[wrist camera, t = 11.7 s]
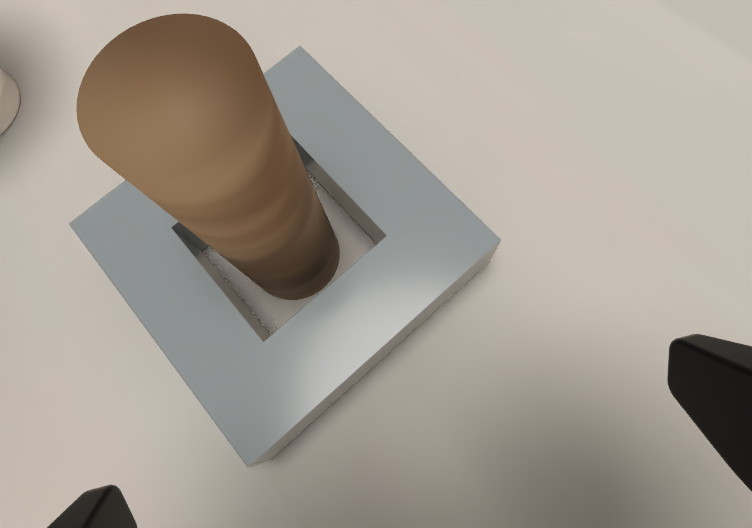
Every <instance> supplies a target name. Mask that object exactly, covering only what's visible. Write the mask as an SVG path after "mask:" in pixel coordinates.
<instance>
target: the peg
mask: <svg viewBox="0 0 752 528" xmlns="http://www.w3.org/2000/svg"><path fill="white" fill-rule="evenodd" d="M77 120H78V124H79V128H80V131H81V134H82V136H83V138H84V140H85V142H86V143H87V145H88V147H89V148H90V149H91V150H92V152H93V153H94V154H95V155H96V156H97V157H98V158H100V159H101V160H102V161H103V162H104V163H106V164H107V165H108V166H109V167H111V168H112V169H113V170H114V171H116V172H117V173H118V174H119V175H121V176H122V177H123V178H124V179H126V180H127V181H128V182H129V183H131V184H132V185H133V186H135V187H136V188H137V189H138V190H140V191H141V192H142V193H143V194H145V195H146V196H147V197H148V198H150V199H151V200H152V201H153V202H155V203H156V204H157V205H158V206H160V207H161V208H162V209H163V210H165V211H166V212H167V213H168V214H170V215H171V216H172V217H173V218H175V219H176V220H177V221H179V222H180V223H181V224H182V225H184V226H185V227H186V228H187V229H189V230H190V231H191V232H192V233H194V234H195V235H196V236H197V237H199V238H200V239H201V240H202V241H204V242H205V243H206V244H207V245H209V246H210V247H211V248H212V249H214V250H215V251H216V252H217V253H219V254H220V255H221V256H222V257H224V258H225V259H226V260H228V261H229V262H230V263H231V264H233V265H234V266H235V267H236V268H238V269H239V270H240V271H241V272H243V273H244V274H245V275H246V276H248V277H249V278H250V279H251V280H253V281H254V282H255V283H256V284H258V285H259V286H260V287H261V288H263V289H264V290H265V291H266V292H268V293H270V294H271V295H273V296H276V297H279V298H282V299H291V300H295V299H302V298H306V297H308V296H311V295H313V294H315V293H317V292H318V291H320V290H321V289H322V288H323V287H325V286H326V285H327V284H328V282H329V281H330V280H331V278H332V277H333V275H334V273H335V271H336V269H337V266H338V262H339V245H338V241H337V238H336V236H335V234H334V231H333V229H332V227H331V225H330V222H329V220H328V218H327V216H326V213H325V211H324V209H323V207H322V204H321V202H320V200H319V198H318V196H317V193H316V191H315V189H314V187H313V184H312V182H311V180H310V178H309V175H308V173H307V171H306V169H305V166H304V164H303V162H302V160H301V157H300V155H299V153H298V151H297V149H296V146H295V144H294V142H293V140H292V137H291V135H290V133H289V131H288V128H287V126H286V124H285V122H284V119H283V117H282V115H281V113H280V110H279V108H278V106H277V104H276V102H275V99H274V97H273V95H272V93H271V90H270V88H269V86H268V84H267V81H266V79H265V77H264V75H263V72H262V70H261V68H260V66H259V63H258V61H257V59H256V57H255V54H254V53H253V51H252V49H251V47H250V46H249V44H248V43H247V42H246V40H245V39H244V38H243V37H242V36H241V35H240V34H239V33H238V32H237V31H236V30H234V29H233V28H231V27H230V26H228V25H227V24H225V23H223V22H220V21H218V20H216V19H213V18H210V17H206V16H201V15H196V14H172V15H165V16H160V17H156V18H152V19H149V20H146V21H144V22H141V23H139V24H137V25H135V26H133V27H131V28H129V29H127V30H126V31H124V32H122V33H121V34H119V35H118V36H117V37H115V38H114V39H113V40H112V41H110V42H109V43H108V44H107V45H106V46H105V47H104V48H103V49H102V50H101V51H100V52H99V54H98V55H97V56H96V57H95V58H94V60H93V61H92V63H91V64H90V66H89V67H88V69H87V71H86V73H85V75H84V77H83V80H82V83H81V86H80V88H79V93H78V98H77Z"/></svg>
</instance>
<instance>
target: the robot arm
mask: <svg viewBox="0 0 752 528" xmlns="http://www.w3.org/2000/svg"><path fill="white" fill-rule="evenodd" d="M668 386H669V389H670V391H671V393H672V395H673V396H674V398H675V399H676V400H677V401H678V403H679V404H680V405H681V406H682V408H683V409H684V410H685V411H686V413H687V414H688V415H689V416H690V418H691V419H692V420H693V422H694V423H695V424H696V425H697V427H698V428H699V429H700V430H701V432H702V433H703V434H704V435H705V437H706V438H707V439H708V440H709V442H710V443H711V444H712V446H713V447H714V448H715V449H716V451H717V452H718V453H719V454H720V456H721V457H722V458H723V459H724V461H725V462H726V463H727V464H728V465H729V467H730V468H731V469H732V470H733V471H734V473H735V474H736V475H737V476H738V477H739V478H740V479H741V480H742V482H743V483H744V484H745V485H746V486H747V487H748V488H749V489H750V490H751V491H752V346H748V345H743V344H739V343H735V342H731V341H726V340H722V339H718V338H714V337H709V336H705V335H701V334H693V335H689V336H685V337H681V338H677V339H675V340H673V341H672V342H671V344H670V347H669V361H668ZM47 528H137V524H136V522H135V519H134V517H133V515H132V513H131V511H130V509H129V507H128V505H127V503H126V501H125V499H124V497H123V495H122V492H121V491H120V489H119V488H118V487H117V486H115V485H107V486H104V487H100V488H96V489H92V490H89V491H86V492H84V493H83V494H82V495H81V496H80V497H79V498H78V499H77V500H76V501H74V502H73V503H72V504H71V505H70V506H69V507H68V508H67V509H66V510H65V511H64V512H63V513H62V514H61V515H60V516H59V517H58V518H57V519H56V520H55V521H54V522H52V523H51V524H50V525H49V526H48V527H47Z"/></svg>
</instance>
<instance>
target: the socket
mask: <svg viewBox="0 0 752 528" xmlns="http://www.w3.org/2000/svg"><path fill="white" fill-rule="evenodd" d="M263 75H264V77H265V79H266V81H267V84H268V86H269V88H270V90H271V93H272V95H273V97H274V99H275V102H276V104H277V106H278V108H279V110H280V113H281V115H282V117H283V119H284V122H285V124H286V126H287V128H288V131H289V133H290V135H291V137H292V140H293V142H294V144H295V146H296V149H297V151H298V153H299V155H300V157H301V160H302V162H303V164H304V166H305V168H306V169H307V170H308V172H309V173H310V174H311V175H312V176H313V177H314V178H315V179H316V180H317V181H318V182H319V183H320V184H321V185H322V186H323V187H324V188H325V190H326V191H327V192H328V193H329V194H330V195H331V196H332V197H333V198H334V199H335V200H336V201H337V202H338V203H339V204H340V205H341V207H342V208H343V209H344V210H345V211H346V212H347V213H348V214H349V215H350V216H351V217H352V218H353V219H354V220H355V221H356V222H357V223H358V225H359V226H360V227H361V228H362V229H363V230H364V231H365V232H366V233H367V234H368V235H369V236H370V237H371V238H372V239H373V240H374V241H375V243H376V244H377V245H376V246H374V247H373V248H372V249H371V250H370V251H369V252H367V253H366V254H365V255H364V256H363V257H362V258H361V259H359V260H358V261H357V262H356V263H355V264H354V265H352V266H351V267H350V268H349V269H348V270H347V271H345V272H344V273H343V274H342V275H341V276H340V277H338V278H337V279H336V280H335V281H334V282H333V283H331V284H330V285H329V286H328V287H327V288H326V289H325V290H323V291H322V292H321V293H320V294H319V295H318V296H316V297H315V298H314V299H313V300H312V301H311V302H309V303H308V304H307V305H306V306H305V307H304V308H302V309H301V310H300V311H299V312H298V313H297V314H295V315H294V316H293V317H292V318H291V319H290V320H289V321H287V322H286V323H285V324H284V325H283V326H282V327H280V328H279V329H278V330H277V331H276V332H275V333H273V334H272V335H270V334H269V332H268V331H267V330H266V329H265V327H264V326H263V325H262V324H261V323H260V321H259V320H258V319H257V318H256V316H255V315H254V314H253V313H252V311H251V310H250V309H249V308H248V307H247V305H246V304H245V303H244V302H243V300H242V299H241V298H240V297H239V296H238V294H237V293H236V292H235V291H234V289H233V288H232V287H231V286H230V284H229V283H228V282H227V281H226V280H225V278H224V277H223V276H222V275H221V273H220V272H219V271H218V270H217V269H216V267H215V266H214V265H213V264H212V262H211V261H210V260H209V259H208V257H207V256H206V255H205V254H204V253H203V251H202V250H203V249H204V248H206V247H207V246H208V245H207V244H206V243H205V242H204V241H202V240H201V239H200V238H199V237H197V236H196V235H195V234H194V233H192V232H191V231H190V230H189V229H187V228H186V227H185V226H184V225H182V224H181V223H180V222H179V221H177V220H176V219H175V218H173V217H172V216H171V215H170V214H168V213H167V212H166V211H165V210H163V209H162V208H161V207H160V206H158V205H157V204H156V203H155V202H153V201H152V200H151V199H150V198H148V197H147V196H146V195H145V194H143V193H142V192H141V191H140V190H138V189H137V188H136V187H135V186H133V185H132V184H131V183H129V182H128V181H127V180H125V181H124V182H122V183H121V184H120V185H119V186H117V187H116V188H115V189H113V190H112V191H111V192H109V193H108V194H107V195H106V196H104V197H103V198H102V199H100V200H99V201H98V202H96V203H95V204H94V205H93V206H91V207H90V208H89V209H87V210H86V211H85V212H83V213H82V214H81V215H80V216H78V217H77V218H76V219H74V220H73V221H72V222H70V223H69V225H70V226H71V227H72V229H73V230H74V231H75V233H76V234H77V236H78V237H79V238H80V240H81V241H82V242H83V244H84V245H85V246H86V248H87V249H88V251H89V252H90V253H91V255H92V256H93V257H94V259H95V260H96V261H97V263H98V264H99V266H100V267H101V268H102V270H103V271H104V272H105V274H106V275H107V276H108V278H109V279H110V281H111V282H112V283H113V285H114V286H115V287H116V289H117V290H118V291H119V293H120V294H121V295H122V297H123V298H124V300H125V301H126V302H127V304H128V305H129V306H130V308H131V309H132V310H133V312H134V313H135V315H136V316H137V317H138V319H139V320H140V321H141V323H142V324H143V325H144V327H145V328H146V330H147V331H148V332H149V334H150V335H151V336H152V338H153V339H154V340H155V342H156V343H157V344H158V346H159V347H160V349H161V350H162V351H163V353H164V354H165V355H166V357H167V358H168V359H169V361H170V362H171V364H172V365H173V366H174V368H175V369H176V370H177V372H178V373H179V374H180V376H181V377H182V379H183V380H184V381H185V383H186V384H187V385H188V387H189V388H190V389H191V391H192V392H193V394H194V395H195V396H196V398H197V399H198V400H199V402H200V403H201V404H202V406H203V407H204V408H205V410H206V411H207V413H208V414H209V415H210V417H211V418H212V419H213V421H214V422H215V423H216V425H217V426H218V428H219V429H220V430H221V432H222V433H223V434H224V436H225V437H226V438H227V440H228V441H229V443H230V444H231V445H232V447H233V448H234V449H235V451H236V452H237V453H238V455H239V456H240V458H241V459H242V460H243V462H244V463H245V464H246V466H247V467H251V466H254V465H256V464H259V463H262V462H265V461H267V460H270V459H272V458H273V457H274V456H275V455H277V454H278V453H279V452H280V451H281V450H282V449H283V448H284V447H285V446H287V445H288V444H289V443H290V442H291V441H292V440H293V439H294V438H295V437H296V436H298V435H299V434H300V433H301V432H302V431H303V430H304V429H305V428H306V427H308V426H309V425H310V424H311V423H312V422H313V421H314V420H315V419H316V418H318V417H319V416H320V415H321V414H322V413H323V412H324V411H325V410H326V409H327V408H329V407H330V406H331V405H332V404H333V403H334V402H335V401H336V400H337V399H339V398H340V397H341V396H342V395H343V394H344V393H345V392H346V391H347V390H349V389H350V388H351V387H352V386H353V385H354V384H355V383H356V382H357V381H358V380H360V379H361V378H362V377H363V376H364V375H365V374H366V373H367V372H368V371H370V370H371V369H372V368H373V367H374V366H375V365H376V364H377V363H378V362H380V361H381V360H382V359H383V358H384V357H385V356H386V355H387V354H388V353H389V352H391V351H392V350H393V349H394V348H395V347H396V346H397V345H398V344H399V343H401V342H402V341H403V340H404V339H405V338H406V337H407V336H408V335H409V334H411V333H412V332H413V331H414V330H415V329H416V328H417V327H418V326H419V325H421V324H422V323H423V322H424V321H425V320H426V319H427V318H428V317H429V316H430V315H432V314H433V313H434V312H435V311H436V310H437V309H438V308H439V307H440V306H442V305H443V304H444V303H445V302H446V301H447V300H448V299H449V298H450V297H452V296H453V295H454V294H455V293H456V292H457V291H458V290H459V289H460V288H461V287H463V286H464V285H465V284H466V283H467V282H468V281H469V280H470V279H471V278H473V277H474V276H475V275H476V274H477V273H478V272H479V271H480V270H481V269H483V268H484V267H485V266H486V265H487V264H488V263H489V262H490V260H491V258H492V256H493V255H494V253H495V251H496V249H497V247H498V245H499V243H500V241H501V239H500V238H499V237H498V236H497V235H496V234H495V233H494V232H493V231H491V230H490V229H489V228H488V227H487V226H486V225H485V224H484V223H483V222H482V221H481V220H480V219H479V218H478V217H477V216H476V215H475V214H474V213H473V212H472V211H471V210H470V209H469V208H468V207H467V206H466V205H465V204H464V203H462V202H461V201H460V200H459V199H458V198H457V197H456V196H455V195H454V194H453V193H452V192H451V191H450V190H449V189H448V188H447V187H446V186H445V185H444V184H443V183H442V182H441V181H440V180H439V179H438V178H437V177H436V176H435V175H434V174H432V173H431V172H430V171H429V170H428V169H427V168H426V167H425V166H424V165H423V164H422V163H421V162H420V161H419V160H418V159H417V158H416V157H415V156H414V155H413V154H412V153H411V152H410V151H409V150H408V149H407V148H406V147H405V146H403V145H402V144H401V143H400V142H399V141H398V140H397V139H396V138H395V137H394V136H393V135H392V134H391V133H390V132H389V131H388V130H387V129H386V128H385V127H384V126H383V125H382V124H381V123H380V122H379V121H378V120H377V119H376V118H374V117H373V116H372V115H371V114H370V113H369V112H368V111H367V110H366V109H365V108H364V107H363V106H362V105H361V104H360V103H359V102H358V101H357V100H356V99H355V98H354V97H353V96H352V95H351V94H350V93H349V92H348V91H347V90H346V89H344V88H343V87H342V86H341V85H340V84H339V83H338V82H337V81H336V80H335V79H334V78H333V77H332V76H331V75H330V74H329V73H328V72H327V71H326V70H325V69H324V68H323V67H322V66H321V65H320V64H319V63H318V62H317V61H315V60H314V59H313V58H312V57H311V56H310V55H309V54H308V53H307V52H306V51H305V50H304V49H303V48H302V47H301V46H299V47H298V48H296V49H295V50H294V51H292V52H291V53H290V54H288V55H287V56H286V57H285V58H283V59H282V60H281V61H279V62H278V63H277V64H275V65H274V66H273V67H272V68H270V69H269V70H268V71H266V72H265V73H264V74H263Z"/></svg>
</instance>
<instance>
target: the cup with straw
mask: <svg viewBox="0 0 752 528" xmlns="http://www.w3.org/2000/svg"><path fill="white" fill-rule="evenodd" d="M19 103H20V93H19V89H18V86H17V85H16V83H15V81H14V80H13V79H12V78H11V77H10V76H9V75H7V74H5V73H3V72H2V70H1V68H0V134H2V133H3V132H4V131H5V130H6V129H7V128H8V126H9V125H10V124H11V123H12V121H13V119H14V118H15V116H16V114H17V111H18V108H19Z"/></svg>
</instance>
